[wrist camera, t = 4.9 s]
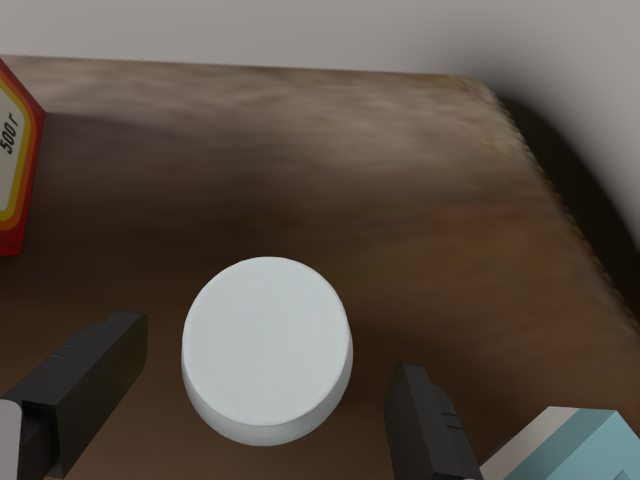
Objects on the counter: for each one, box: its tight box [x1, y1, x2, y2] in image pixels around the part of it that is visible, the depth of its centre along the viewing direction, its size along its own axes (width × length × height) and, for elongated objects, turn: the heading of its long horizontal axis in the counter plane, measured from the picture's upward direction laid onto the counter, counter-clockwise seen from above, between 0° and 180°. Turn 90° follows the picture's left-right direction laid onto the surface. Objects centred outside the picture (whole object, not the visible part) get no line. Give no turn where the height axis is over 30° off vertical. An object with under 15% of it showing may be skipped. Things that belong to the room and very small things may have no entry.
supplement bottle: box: [181, 257, 353, 446], centre depth 12 cm, size 5×5×10 cm
